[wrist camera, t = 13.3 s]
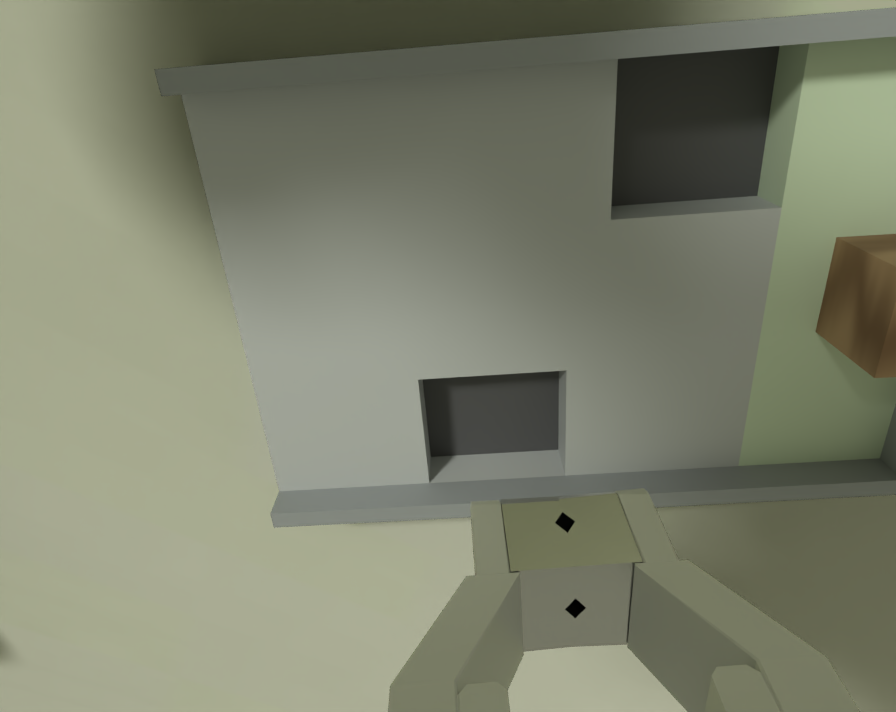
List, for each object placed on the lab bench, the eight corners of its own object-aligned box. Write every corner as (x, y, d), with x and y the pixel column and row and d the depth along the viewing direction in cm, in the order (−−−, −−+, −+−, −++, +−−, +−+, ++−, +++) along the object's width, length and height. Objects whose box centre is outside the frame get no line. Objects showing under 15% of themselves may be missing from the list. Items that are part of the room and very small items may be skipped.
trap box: (200, 65, 29) (148, 69, 24) (982, 0, 28) (1096, -10, 23) (294, 473, 40) (271, 533, 35) (862, 441, 39) (922, 499, 34)
